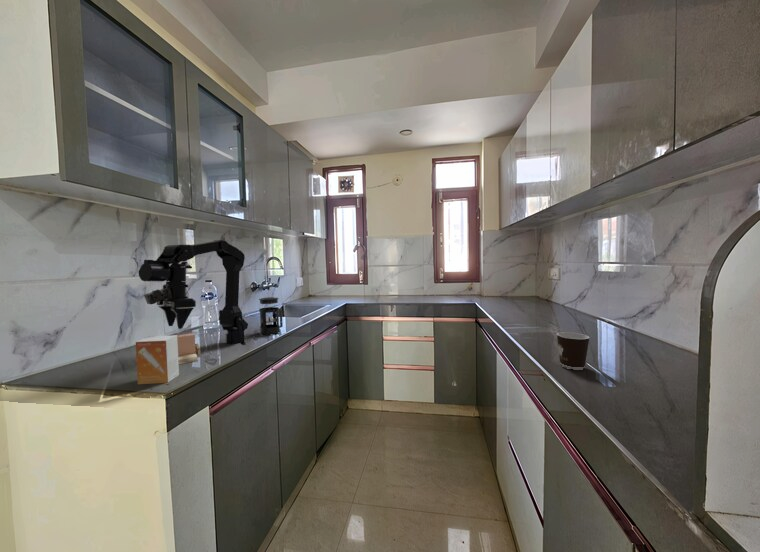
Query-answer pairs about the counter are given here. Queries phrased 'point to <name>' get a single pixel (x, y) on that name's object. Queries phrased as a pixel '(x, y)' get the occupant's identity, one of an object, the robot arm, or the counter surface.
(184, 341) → the salmon pink block
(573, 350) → the coffee mug
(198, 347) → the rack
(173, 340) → the small box
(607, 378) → the counter surface
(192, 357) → the offcut top
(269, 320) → the french press
